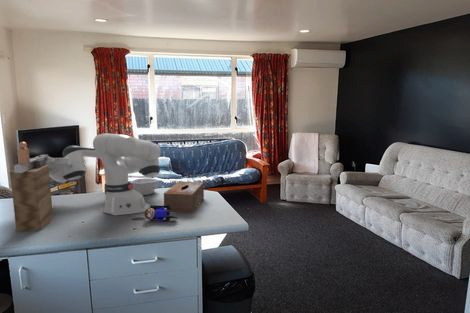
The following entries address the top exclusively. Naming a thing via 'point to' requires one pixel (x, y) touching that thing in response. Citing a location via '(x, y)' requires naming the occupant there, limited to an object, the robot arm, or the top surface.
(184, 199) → the tissue box cover
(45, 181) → the stand
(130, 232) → the top surface
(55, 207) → the top surface
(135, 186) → the paper bowls
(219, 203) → the top surface
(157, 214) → the character figurine
